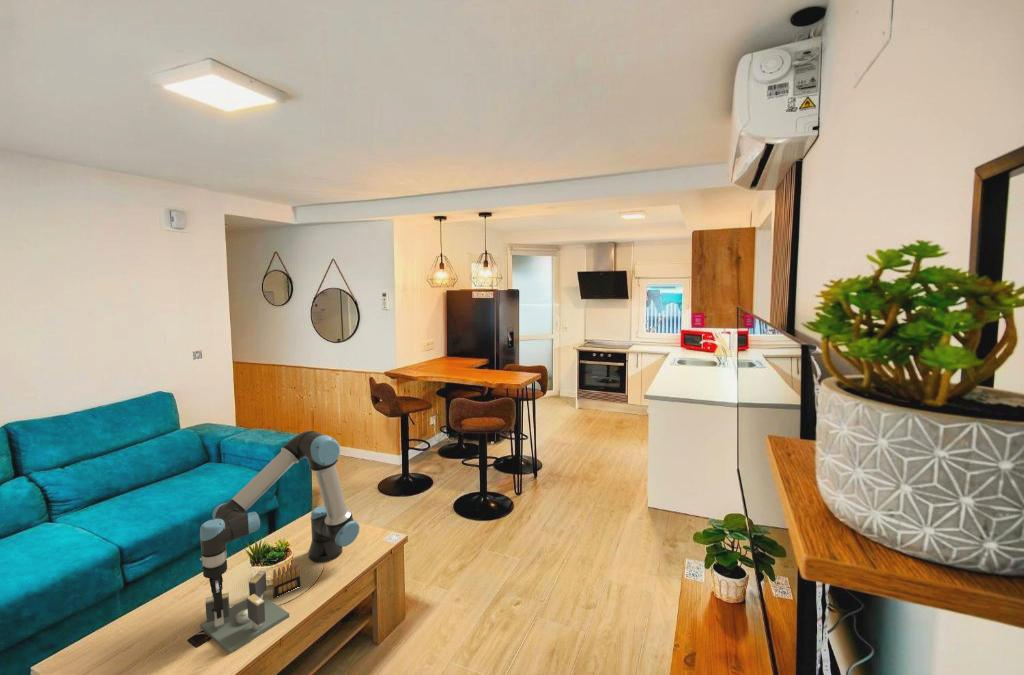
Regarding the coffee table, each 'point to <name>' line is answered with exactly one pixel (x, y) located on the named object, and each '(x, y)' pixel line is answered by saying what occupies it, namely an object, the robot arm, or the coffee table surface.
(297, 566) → the ammunition clip
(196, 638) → the smartphone
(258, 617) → the knob
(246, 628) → the plate
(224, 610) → the knob
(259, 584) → the grey brown rectangular block
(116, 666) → the coffee table surface
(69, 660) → the coffee table surface
